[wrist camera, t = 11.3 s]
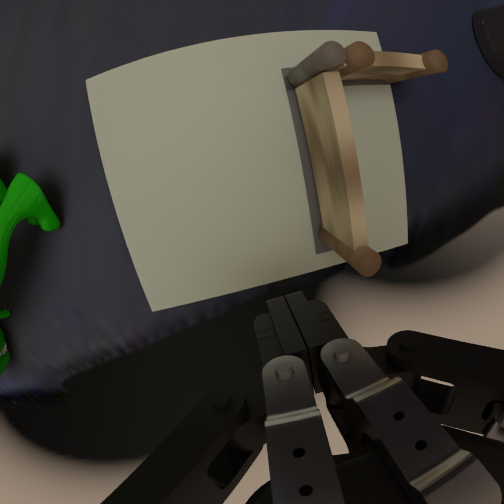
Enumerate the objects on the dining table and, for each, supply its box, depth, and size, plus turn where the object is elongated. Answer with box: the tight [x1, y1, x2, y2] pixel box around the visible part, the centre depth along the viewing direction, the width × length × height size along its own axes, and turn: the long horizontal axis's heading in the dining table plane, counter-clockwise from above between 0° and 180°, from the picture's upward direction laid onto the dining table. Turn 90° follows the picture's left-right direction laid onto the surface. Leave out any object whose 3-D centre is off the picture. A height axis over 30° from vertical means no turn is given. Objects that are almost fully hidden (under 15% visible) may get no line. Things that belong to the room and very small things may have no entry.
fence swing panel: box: [288, 41, 381, 277], centre depth 17 cm, size 13×2×7 cm, turn 13°
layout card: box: [86, 30, 408, 312], centre depth 20 cm, size 23×19×1 cm
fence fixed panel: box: [327, 41, 448, 83], centre depth 16 cm, size 8×2×7 cm, turn 102°
